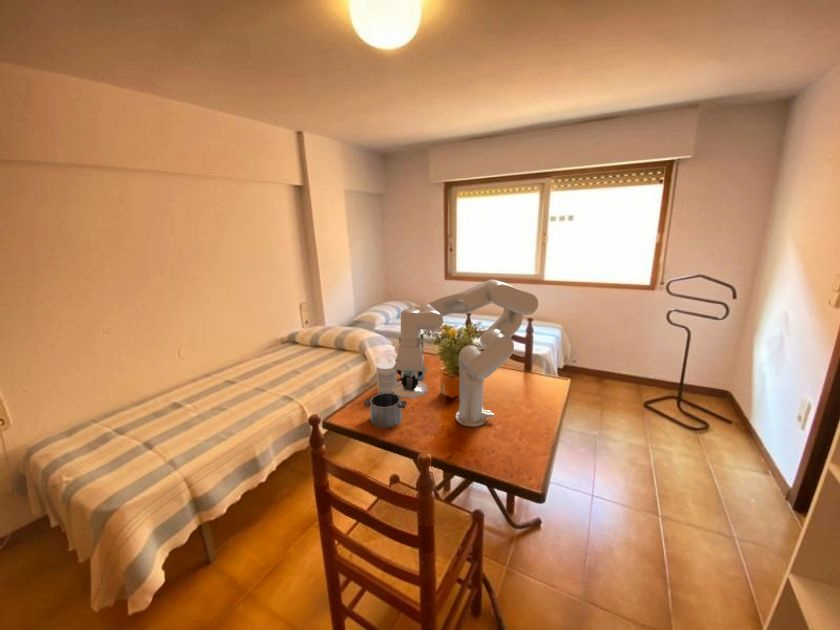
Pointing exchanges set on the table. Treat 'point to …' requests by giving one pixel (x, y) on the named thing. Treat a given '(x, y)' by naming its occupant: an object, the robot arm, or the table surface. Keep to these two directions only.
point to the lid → (409, 388)
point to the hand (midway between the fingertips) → (409, 385)
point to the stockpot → (385, 410)
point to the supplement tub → (385, 377)
